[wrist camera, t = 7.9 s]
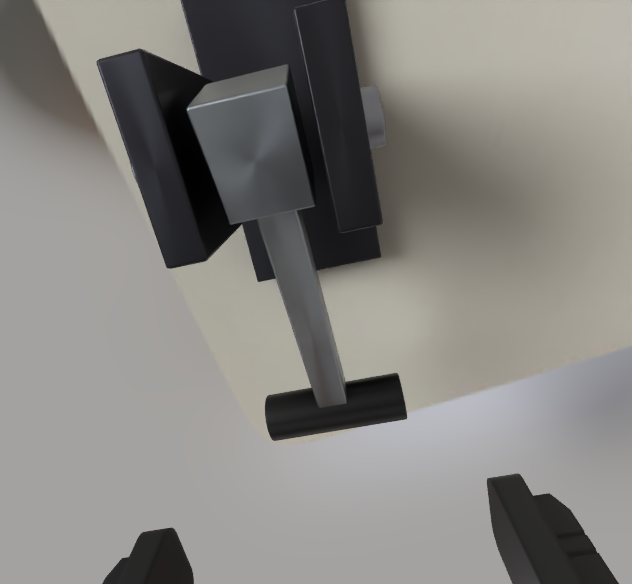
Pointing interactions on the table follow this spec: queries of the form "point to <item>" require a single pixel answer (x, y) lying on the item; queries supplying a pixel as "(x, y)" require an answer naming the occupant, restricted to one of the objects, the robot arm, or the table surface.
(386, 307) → the table surface
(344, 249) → the bracket
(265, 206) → the switch lever
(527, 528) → the robot arm
